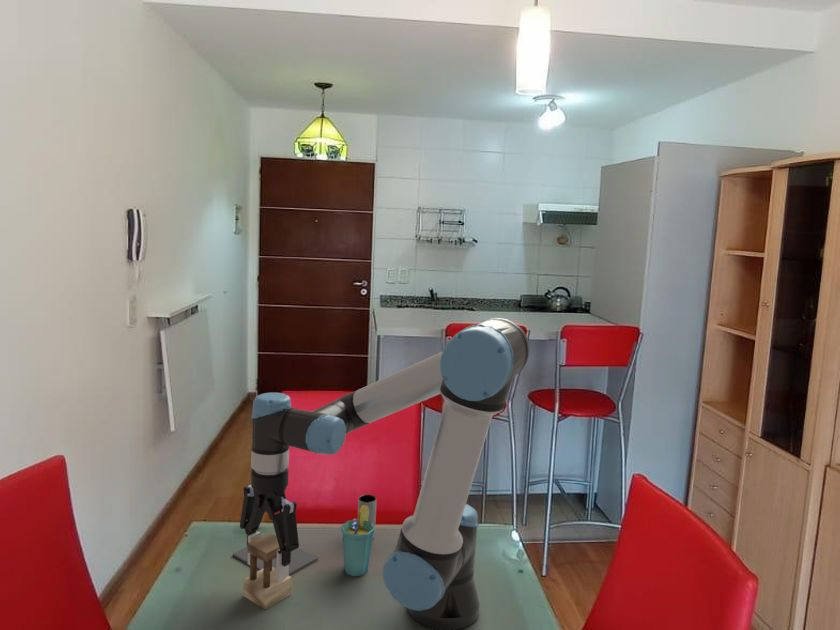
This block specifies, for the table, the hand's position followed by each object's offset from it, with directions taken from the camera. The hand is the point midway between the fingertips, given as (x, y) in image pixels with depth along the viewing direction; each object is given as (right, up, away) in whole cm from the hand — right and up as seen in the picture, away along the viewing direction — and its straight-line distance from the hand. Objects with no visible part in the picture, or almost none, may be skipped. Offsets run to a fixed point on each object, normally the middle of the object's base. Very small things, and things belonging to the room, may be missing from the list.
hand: (267, 569), depth 136 cm
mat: (-2, -3, +15) cm, 16 cm away
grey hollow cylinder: (+18, -3, +28) cm, 34 cm away
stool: (0, -2, 0) cm, 2 cm away
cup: (+17, -5, +12) cm, 21 cm away
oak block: (0, -6, +1) cm, 6 cm away
